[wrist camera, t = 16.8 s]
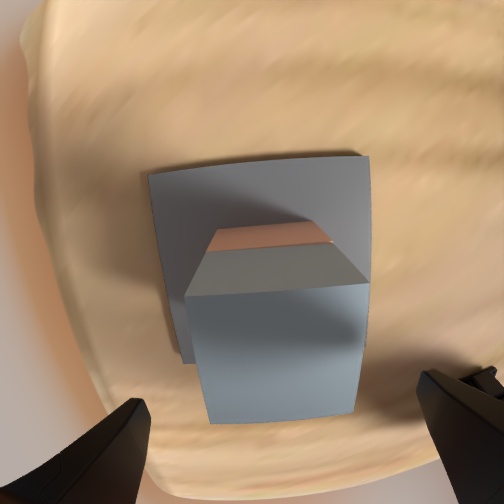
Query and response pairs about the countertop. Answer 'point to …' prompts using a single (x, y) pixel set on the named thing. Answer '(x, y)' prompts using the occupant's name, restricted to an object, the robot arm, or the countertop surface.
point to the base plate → (256, 214)
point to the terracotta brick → (268, 236)
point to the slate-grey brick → (278, 332)
